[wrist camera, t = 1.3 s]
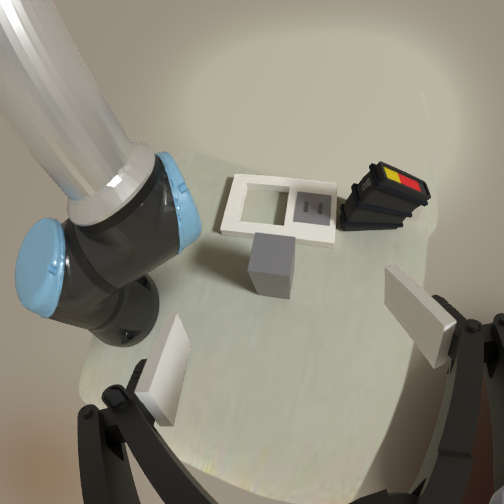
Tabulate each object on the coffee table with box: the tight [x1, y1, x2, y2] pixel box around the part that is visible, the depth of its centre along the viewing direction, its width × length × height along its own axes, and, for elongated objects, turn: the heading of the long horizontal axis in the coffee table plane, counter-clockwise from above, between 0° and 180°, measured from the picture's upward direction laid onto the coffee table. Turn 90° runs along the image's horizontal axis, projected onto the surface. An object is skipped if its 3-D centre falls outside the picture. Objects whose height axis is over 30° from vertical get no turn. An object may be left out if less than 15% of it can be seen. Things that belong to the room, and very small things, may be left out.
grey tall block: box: [247, 232, 296, 299], centre depth 38 cm, size 5×5×12 cm
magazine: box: [340, 162, 431, 231], centre depth 40 cm, size 4×13×15 cm, turn 91°
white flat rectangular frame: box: [220, 174, 337, 248], centre depth 47 cm, size 19×12×2 cm, turn 80°
